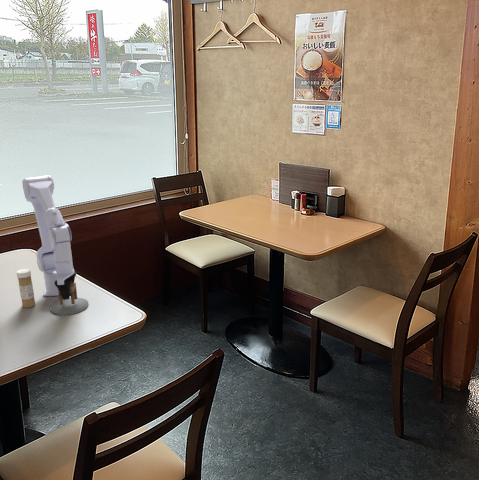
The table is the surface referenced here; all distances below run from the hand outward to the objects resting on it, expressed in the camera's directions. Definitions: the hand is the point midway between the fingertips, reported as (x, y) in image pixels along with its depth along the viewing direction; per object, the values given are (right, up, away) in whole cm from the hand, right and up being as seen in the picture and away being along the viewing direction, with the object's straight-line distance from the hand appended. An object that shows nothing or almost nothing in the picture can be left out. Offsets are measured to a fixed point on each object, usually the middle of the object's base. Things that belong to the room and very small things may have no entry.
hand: (68, 295), depth 180 cm
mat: (0, -4, +1) cm, 4 cm away
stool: (0, -2, +1) cm, 2 cm away
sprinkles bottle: (-15, -4, +3) cm, 16 cm away
